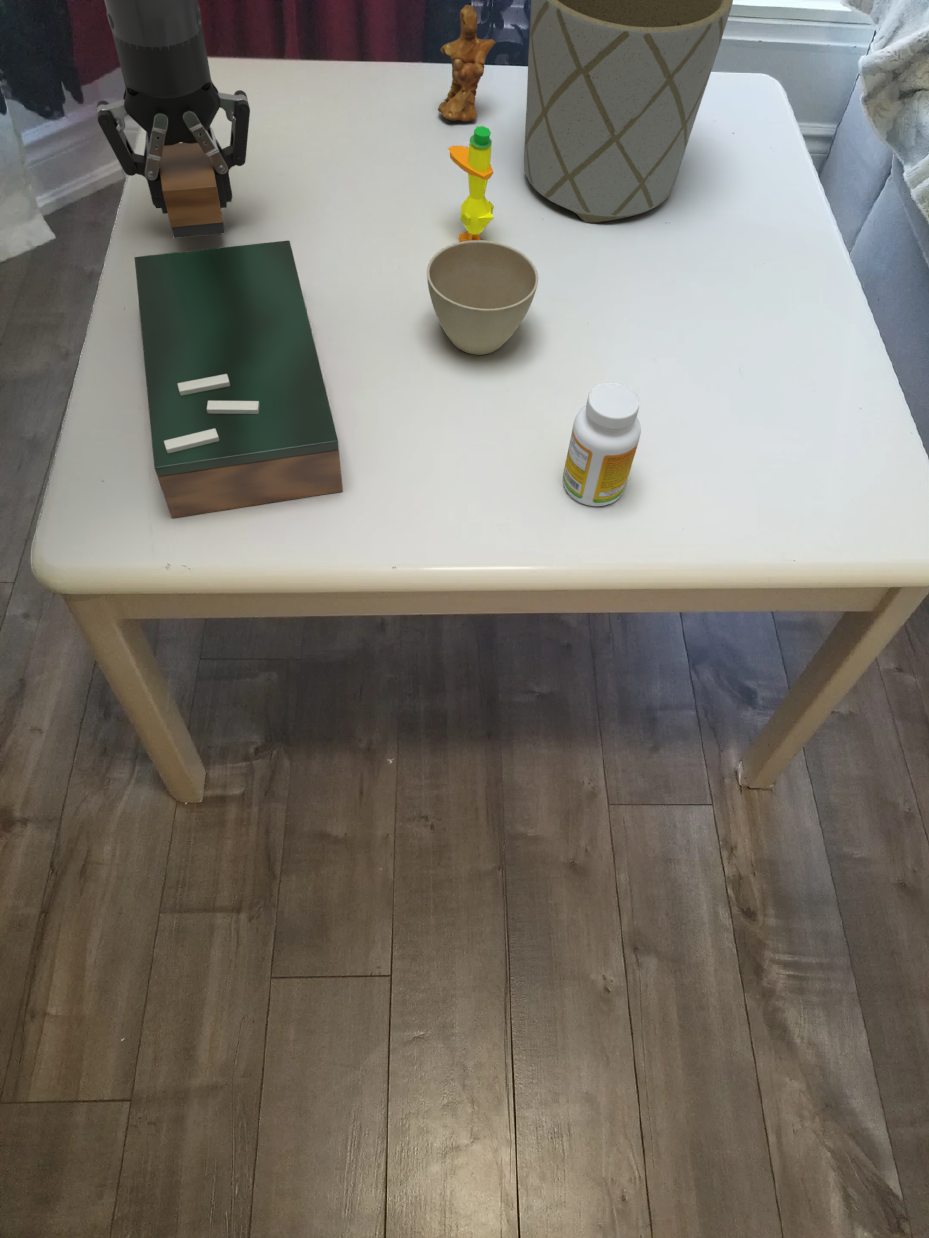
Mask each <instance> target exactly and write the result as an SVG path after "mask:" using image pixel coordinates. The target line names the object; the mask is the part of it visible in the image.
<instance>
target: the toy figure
mask: <svg viewBox="0 0 929 1238" xmlns="http://www.w3.org/2000/svg"><path fill="white" fill-rule="evenodd" d="M491 134H492V132H491V130H490V128H488V127H486V126H484V125H480V126H476V127H475V128H474V129H473V134H472V135H471V136H470V137H469V144H468V146H464V145H452V146H450V147H448V148H447V150H448V152H449V158H450V160H451V161H452V162H453V163H454V164H455V165H456V166H457V167H459V168H460V169H461V170H462V171H464V172H465V173H467V179H468V191H469V192H468V193H469V195H468V196H467V197H466V198H465V200H464V201H463V202H462V203H461V205H460V217H459V220H460V221H461V222H462V224H463V226H464V228H465V229H466V231H465V232H464V233H463V232H462V233H461V232H460V233H459V234H458V235H457V236H458V240H459V242H463V241H471V240H482V239H481V237H480V234H481V233H482V232H483V231H484V230H485V228H486V227H487V226H488V225H489V224H490V223H491V221H493V220H494V218H495V217H494V215H493V212H494V208H495V206H494V204H493V203H492V202H491V200H489V201H488V199H487V198H486V196H485V195H486V190H487V186H488V181H489V179H491V177H492V176H493V174H494V169H493V167H492V165H491V159H492V147H493V146H492V144H493V141H492V138H491V137H490V136H491Z"/></svg>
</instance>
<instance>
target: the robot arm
mask: <svg viewBox="0 0 929 1238" xmlns="http://www.w3.org/2000/svg"><path fill="white" fill-rule="evenodd" d="M103 1H104V5H105V9H106V18H107V19H106V20H107V23H108V25H109V27H110V30H111V33H112V38H113V42H114V45H115V46H114V47H115V50H116V53H117V57H118V62H119V66H120V70H121V75H122V79H123V82H124V88H125V90H124V93H123V99H119V100H116V101H114V102H111V103H109V102H108V101H107V100H99V101H98V102H97V103H96V115H97V122H98V125H99V127H100V128H101V131H102V132H103V134H104V136H105V138H106V140H107V142H108V144H109V146H110V147H111V149H112V151H113V153H114V154H115V157H116V159H117V160H118V163H119V165H120V166H121V168H122V170H123V172H124V174H126V175H127V176H130V177H133V176H136V175H139V176H142V177H143V178H145V179H146V182H147V185H148V189H149V194H150V198H151V201H152V205H153V207H154V208H155V209H156V210H157V209H161V213H162V215H168V212H167V208H166V204H165V200H164V195H163V191H162V184H161V176H160V168H159V166H160V160H161V159H162V153H163V147H164V146H169V145H174V144H177V143H188V144H193V143H198V144H199V146H200V147H201V149H202V150H203V152H204V154H205V155H206V156H207V157H208V158H209V160H210V162H211V163H212V165H213V169H214V175H215V180H216V186H217V191H218V196H219V202H220V207H221V209H227V208H228V205H227V203H228V202H229V203H230V202H232V201H233V198H234V197H233V196H234V195H233V192H232V185H231V179H230V170H231V169H232V168H233V167H235V166H237V167H242V166H244V165H245V164H246V160H247V151H248V137H249V126H250V117H251V116H250V115H251V108H250V104H249V100H248V96H247V93H246V92H245V91H244V90H241V89H239V90H236V91H235V92H234V94H231V93H224V92H219V90H218V87H216V86H215V84H214V82H213V80H212V75H211V71H210V65H209V58H208V53H207V52H208V51H207V46H206V40H205V34H204V28H203V23H202V12H201V11H202V10H201V9H200V4H199V0H103ZM220 109H222V110H223V111H224V113H225V117H226V119H227V120H228V121H229V122H231V128H230V129H231V130H230V140H229V145H227V146H225V147H222V146H221V143H220V142H219V140H218V138H217V136H216V134H215V132H214V130H213V128H212V126H211V125H212V123H213V121H214V119H215V117H216V115H217V113H218V111H219V110H220ZM126 116H129V117H130V118H131V119H132V120H133V121H134V122H135V123H136V124H137V125H138V126H140V127H141V128H142V129H143V130H144V131H145V143H144V144H145V145H144V149H143V154H138V153H135V151H134V148H133V147H132V145H131V143H130V141H129V139H128V137H127V136H126V133H125V132H124V130H125V128H126V119H125V118H126Z"/></svg>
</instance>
